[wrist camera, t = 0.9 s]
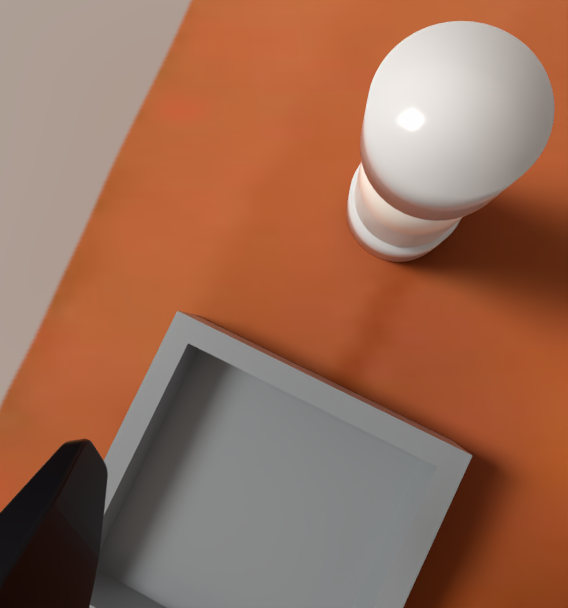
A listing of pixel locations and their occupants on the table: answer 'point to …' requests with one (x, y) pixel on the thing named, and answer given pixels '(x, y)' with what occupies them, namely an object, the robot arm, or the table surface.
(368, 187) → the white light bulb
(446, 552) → the table surface
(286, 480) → the parts tray
